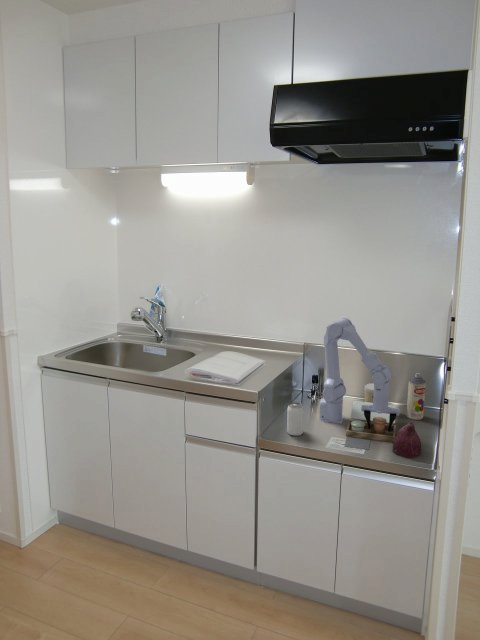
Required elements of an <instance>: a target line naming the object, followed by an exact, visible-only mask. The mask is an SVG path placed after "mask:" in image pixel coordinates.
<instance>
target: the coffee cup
mask: <svg viewBox="0 0 480 640" xmlns="http://www.w3.org/2000/svg"><path fill="white" fill-rule="evenodd" d="M373 396H374V382H372V383H366V384H365V385H364V402H369V403H373Z"/></svg>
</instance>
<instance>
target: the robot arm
mask: <svg viewBox="0 0 480 640" xmlns="http://www.w3.org/2000/svg"><path fill="white" fill-rule="evenodd" d="M339 340H345V341H348V342H349V343H350V344H351V345H352V346H353V347H354V348H355V349H356V351H357V352H358V353H359V354H360V356H361V362H362V363H363V364H364V366H365V367H366V369H367V370H368V371H369V372H370V374H371V380H372V383H374V396H373V405H362V407H361V411H363V412H364V416H365V418H366V421H365V422H367V424H368V429H370V426H371V422H372V421H370V417H371V412H377V413H380V414H382V413H386V414H390V417H389V423H388V424H389V428H388V432H390V429H391V426H392V425H394V424H393V422H394V420H395V421H396V419H397V416H400V409H399V408H396V409H395V408H391V407H388V405H389V394H390V380H391V379H392V378H393V373H392V372H393V371H392V370H391V368H390V367H388V366H387V365H386V366H385V364H383V363H382V362H381V360H380V359H379V356H378V354H377V353H375V352H374V351H370V350H369V349H368V347H367V346H366V344H365V343H364V341H363V339H362V338H361V336H360V334H359V333H358V332H357V329H356V326H355V325H354V324H353V322H352V321H351V319H349V318H345V317H343V318H342V319H338V320H336V321H332V322H330V323H329V324H328V325H327V326H326V331H325V334H324V335H323V345H324V356H325V358H324V360H325V371H326V379H325V382H324V384H323V390H322V398H320V402H319V422H326V423H334V424H342V423H343V421H344V417H345V416H344V415H343V408H344V407H343V404H344V403H343V401H344V396H345V395H346V394H347V388H346V386H345V383H344V382H345V381H344V380H343V379H342V378H341V372H340V371H341V370H340V360H339V346H338V341H339Z"/></svg>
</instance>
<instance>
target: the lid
mask: <svg viewBox="0 0 480 640" xmlns="http://www.w3.org/2000/svg"><path fill="white" fill-rule="evenodd" d="M362 405H373V403H369V402H365V401H361V400H360V401H358V400H353V402H352V408H351V414H350V420H356V421H364V422H367V421H366V418H365V416H364V412H363V411H361V407H362ZM388 407H391V408H395V409H397V405H394V404H388ZM375 417H382V418H385V419H386V423H385V424H389V417H390V414H386V413H382V414H380V413H377V412H371V417H370V422H373V418H375ZM395 424H396V419H395V420H394V422H393V424H392V425H395Z"/></svg>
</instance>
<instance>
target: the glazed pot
mask: <svg viewBox="0 0 480 640" xmlns="http://www.w3.org/2000/svg"><path fill="white" fill-rule="evenodd" d="M362 421H363V420H356V421H352V422H351V425H352V431H357V432H364V426H365V423H364V422H365V421H364V422H362Z"/></svg>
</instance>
